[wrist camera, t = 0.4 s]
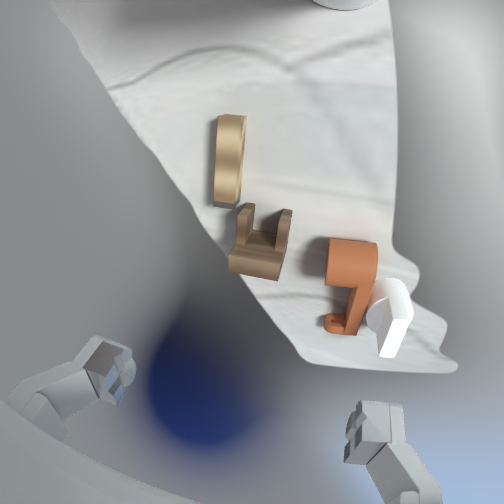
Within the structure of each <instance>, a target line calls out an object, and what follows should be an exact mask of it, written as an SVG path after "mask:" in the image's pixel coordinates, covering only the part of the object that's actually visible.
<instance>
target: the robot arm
mask: <svg viewBox="0 0 504 504" xmlns="http://www.w3.org/2000/svg"><path fill="white" fill-rule="evenodd" d="M313 1H314V2H316V3H318V4H320V5H323V6H325V7H328V8H332V9H338V10H354V9H359V8H363V7H366V6H368V5H370V4H371V3H373V2H374V1H376V0H313ZM132 355H133V353H132V350H131V348H130V347H127V346H124V345H121V344H119V343H116V342H113V341H111V340H108V339H106V338H103V337H101V336H98V335H95V336H93V337H92V338H91V339H90V341H89V342H88V343H87V344H86V345H85V346H84V348H83V349H82V350H81V351H80V353H79V354H78V355H77V356H76V358H75V359H74V360H73V361H72V363H71V362H66V363H64V364H61V365H59V366H57V367H54V368H52V369H49V370H47V371H44V372H42V373H39V374H37V375H35V376H32V377H30V378H27V379H25V380H22V381H21V382H20V383H19V385H18V386H17V387H16V389H15V390H14V391H13V392H12V393H11V395H10V396H9V397H8V398H7V400H6V401H5V402H2V401H1V400H0V504H203V503H199V502H196V501H192V500H189V499H186V498H183V497H180V496H177V495H174V494H171V493H168V492H166V491H163V490H160V489H158V488H155V487H152V486H149V485H147V484H145V483H142V482H140V481H137V480H135V479H133V478H130V477H128V476H126V475H124V474H121V473H119V472H117V471H115V470H113V469H111V468H109V467H106V466H104V465H102V464H100V463H98V462H96V461H94V460H92V459H91V458H89V457H87V456H85V455H83V454H81V453H79V452H78V451H76V450H74V449H72V448H71V447H69V446H67V445H65V444H64V443H63V442H64V441H65V439H66V438H67V436H68V434H69V429H68V428H67V426H66V425H65V424H64V422H63V420H65V419H67V418H68V417H70V416H72V415H73V414H75V413H77V412H78V411H80V410H82V409H84V408H85V407H87V406H89V405H90V404H92V403H94V402H95V401H97V400H99V399H102V400H104V401H107V402H109V403H111V404H114V405H116V406H117V405H118V404H119V402H120V401H121V399H122V397H123V396H124V394H125V390H124V387H126V386H128V385H130V384H131V382H132V381H133V379H134V376H135V373H136V365H135V362H134V361H133V359H132V358H131V356H132ZM346 438H347V439H348V441H349V442H348V443H347V445H346V446H345V450H344V463H350V464H360V465H366V468H367V470H368V471H369V473H370V475H371V477H372V479H373V481H374V483H375V485H376V487H377V489H378V491H379V493H380V495H381V497H382V499H383V501H384V503H385V504H442V488H441V487H440V485H439V484H438V483H437V481H436V480H435V478H434V477H433V476H432V474H431V473H430V472H429V470H428V469H427V468H426V466H425V465H424V463H423V462H422V461H421V459H420V458H419V457H418V455H417V454H416V452H415V451H414V450H413V448H412V447H411V446H410V444H406V443H405V429H404V418H403V407H402V406H401V404H396V403H387V402H375V401H363V400H360V401H359V402H358V403H357V405H356V411H354V412H352V413H351V415H350V417H349V419H348V423H347V427H346Z"/></svg>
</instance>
